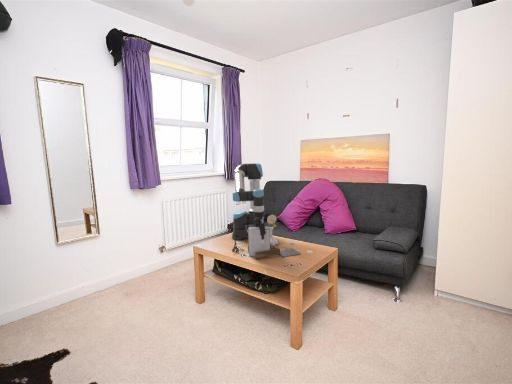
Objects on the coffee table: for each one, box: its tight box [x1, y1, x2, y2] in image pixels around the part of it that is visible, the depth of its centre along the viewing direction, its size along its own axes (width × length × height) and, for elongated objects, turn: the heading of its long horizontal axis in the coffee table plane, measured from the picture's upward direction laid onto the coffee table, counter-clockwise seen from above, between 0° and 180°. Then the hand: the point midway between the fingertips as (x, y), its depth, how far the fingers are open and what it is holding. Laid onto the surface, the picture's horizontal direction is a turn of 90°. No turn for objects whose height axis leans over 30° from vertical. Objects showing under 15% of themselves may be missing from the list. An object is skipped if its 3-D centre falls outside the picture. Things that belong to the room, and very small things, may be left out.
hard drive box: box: [247, 226, 271, 257], centre depth 196 cm, size 16×8×20 cm, turn 85°
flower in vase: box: [266, 214, 279, 246], centre depth 217 cm, size 13×11×25 cm
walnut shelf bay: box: [247, 242, 281, 261], centre depth 198 cm, size 16×18×5 cm
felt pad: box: [280, 248, 302, 258], centre depth 199 cm, size 12×14×1 cm
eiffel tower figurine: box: [231, 239, 246, 253], centre depth 205 cm, size 15×10×13 cm
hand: (259, 241), depth 196 cm, fingers closed on hard drive box, 10 cm apart
